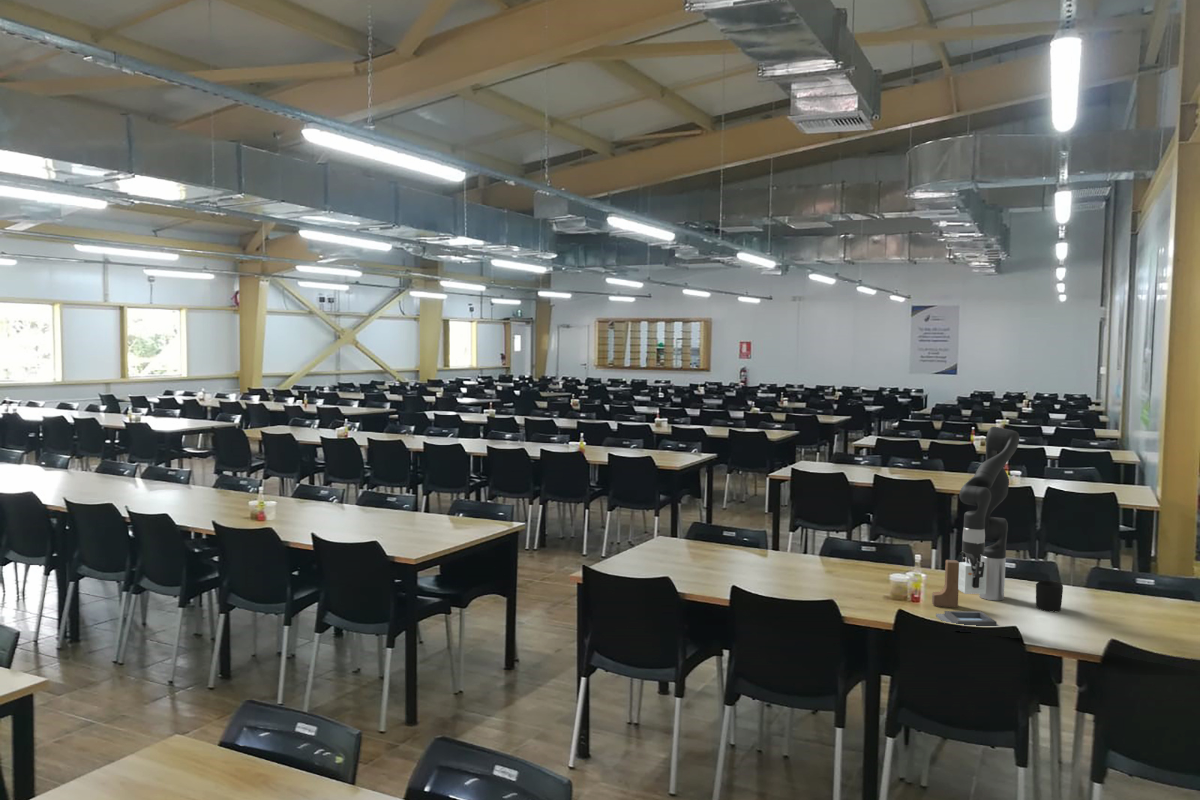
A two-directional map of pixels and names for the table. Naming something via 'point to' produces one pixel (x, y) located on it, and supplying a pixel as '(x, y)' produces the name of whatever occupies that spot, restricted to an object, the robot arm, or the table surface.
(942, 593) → the wooden block
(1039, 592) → the pen holder
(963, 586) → the small box
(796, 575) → the table surface
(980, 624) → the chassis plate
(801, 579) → the table surface
